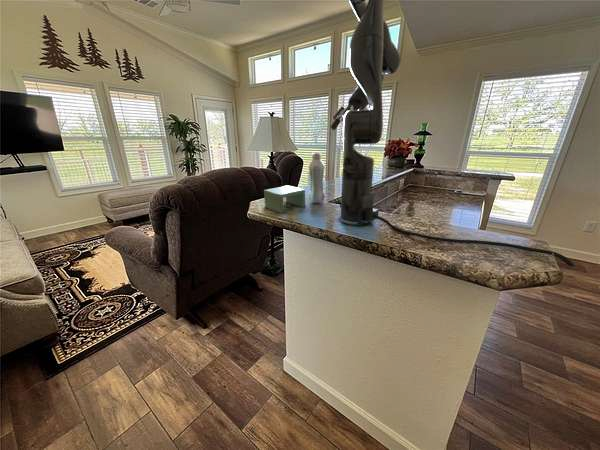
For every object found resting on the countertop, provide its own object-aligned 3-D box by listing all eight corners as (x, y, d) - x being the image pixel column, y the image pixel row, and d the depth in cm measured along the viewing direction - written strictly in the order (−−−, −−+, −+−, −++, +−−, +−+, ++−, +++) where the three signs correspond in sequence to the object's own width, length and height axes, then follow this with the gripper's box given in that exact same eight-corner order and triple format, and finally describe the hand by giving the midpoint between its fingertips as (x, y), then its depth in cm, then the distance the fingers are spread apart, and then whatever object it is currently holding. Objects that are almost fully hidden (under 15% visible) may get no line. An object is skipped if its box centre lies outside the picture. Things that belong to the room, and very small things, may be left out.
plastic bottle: (326, 201, 100) (327, 152, 93) (321, 205, 95) (321, 154, 87) (312, 199, 103) (312, 152, 95) (306, 204, 97) (305, 153, 90)
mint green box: (305, 206, 94) (304, 189, 92) (281, 213, 87) (280, 194, 84) (288, 201, 102) (287, 185, 99) (265, 207, 95) (263, 190, 92)
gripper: (345, 90, 96) (322, 122, 96) (371, 85, 85) (346, 121, 84) (354, 104, 101) (333, 135, 100) (380, 101, 89) (356, 136, 89)
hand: (339, 128), depth 92 cm, fingers open, 8 cm apart
